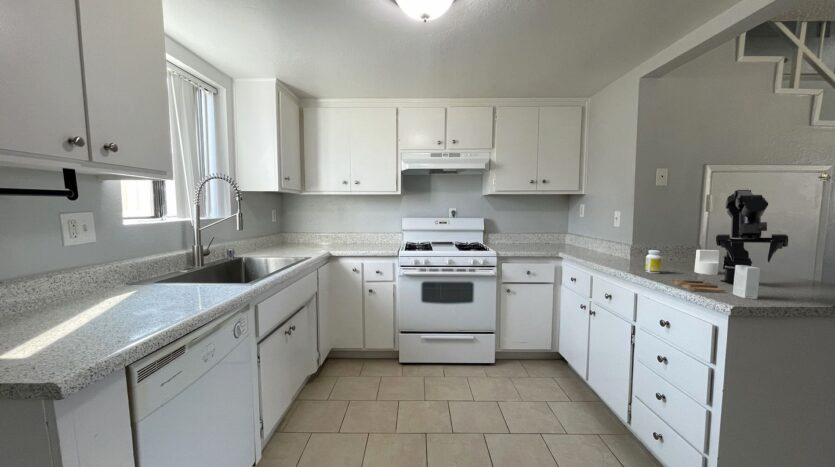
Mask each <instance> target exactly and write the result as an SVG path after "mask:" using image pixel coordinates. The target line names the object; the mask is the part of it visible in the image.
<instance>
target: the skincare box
mask: <svg viewBox="0 0 835 467" xmlns="http://www.w3.org/2000/svg"><path fill="white" fill-rule="evenodd" d="M760 274H761V268H760V267H755V266H752V265H751V266H747V265H736V266H735V276H734V284H733V287H732V295H734V296H737V297H739V298H743V299H752V300H758V294H759V292H758V291H759V286H760V285H759V283H760V277H761V276H760Z"/></svg>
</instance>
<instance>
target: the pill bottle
mask: <svg viewBox="0 0 835 467" xmlns="http://www.w3.org/2000/svg"><path fill="white" fill-rule="evenodd" d="M660 253H661V252H660V250H655V249H649V250H648V254H647V255H646V256H645V272H646V273H649V274H660V273H661V272H662V271H661V270H662V256H661V255H660Z"/></svg>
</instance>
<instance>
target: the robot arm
mask: <svg viewBox="0 0 835 467" xmlns="http://www.w3.org/2000/svg"><path fill="white" fill-rule="evenodd" d="M725 201H726V202H725V209H726V211H727V212H726V213H727V215H728V216H729V217H730V218H731V225H730V227H731V228H730V234H729V233H728V234H727V233H726V234H717V235H716V236H715V242H716V246H719V247H721V248H722V249H725V250H726V252H725V254H724V256H722V262H721V269H722V270H724V279H720V281H721V282H724V283H726V284H729V285H734V276H735V266H736V265H747V266H752V265H753V261H752V260H751V257H750V256H749V254H750V253H749V251H748V250H746V249H745V243H748V244H749V243H751V244H753V243H761V244H763V243H764V244H765V243H766V244H769V250H768V254H767V263H770V262H771V260H772V258H773V256H774V255H775V254H776V252H778V249H779V250H781V249H783V248H786V247H788V245H789V235H787V234H786V233H785V234H784V233H781V234H779V233H774V234H773V233H771V237H762V232H767V231H768V222H767V221H763V222H762V217H763V215H764V213H765V211H766V210H767V208H768V206H769V202H768V201H767V199H766V198H765V197H763V194H753V193H752V190H751V189H736V190H734V192H733V193H732V194H731V195H729V196H728V197H726V200H725Z"/></svg>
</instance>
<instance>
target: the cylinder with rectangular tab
mask: <svg viewBox="0 0 835 467" xmlns="http://www.w3.org/2000/svg"><path fill="white" fill-rule="evenodd" d="M719 259H720V250H717V249H696V252H695V260H694V269H693V270H694V271H693V272H694V273H697V274H701V275H708V276H709V275H710V276H711V275H712V276H715V275H718V274H719V266H720V265H719V264H720V263H719V261H720V260H719Z"/></svg>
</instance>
